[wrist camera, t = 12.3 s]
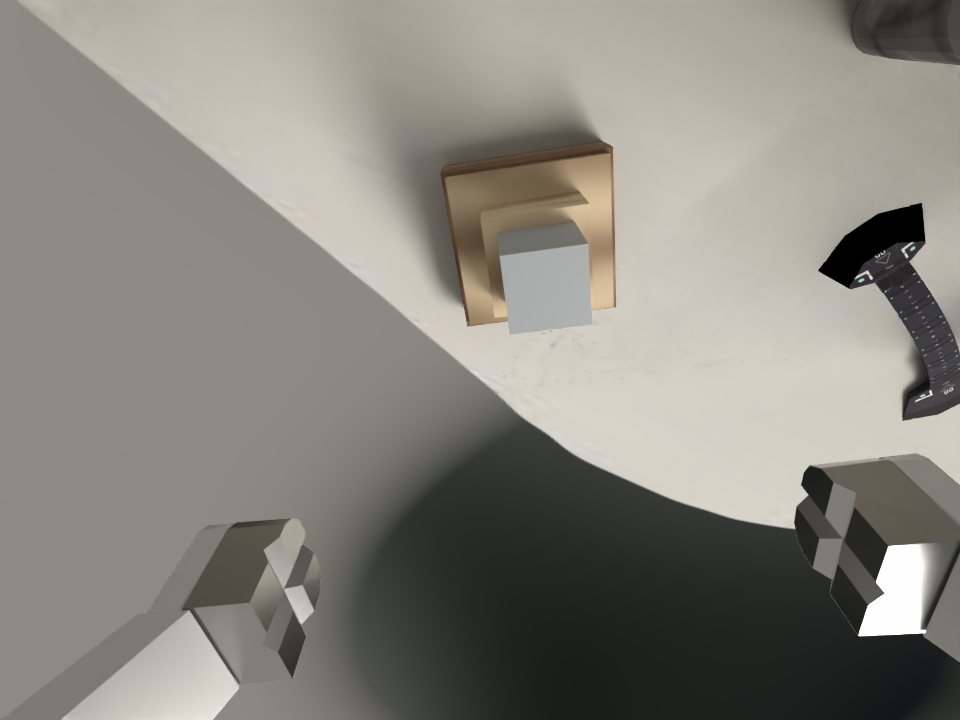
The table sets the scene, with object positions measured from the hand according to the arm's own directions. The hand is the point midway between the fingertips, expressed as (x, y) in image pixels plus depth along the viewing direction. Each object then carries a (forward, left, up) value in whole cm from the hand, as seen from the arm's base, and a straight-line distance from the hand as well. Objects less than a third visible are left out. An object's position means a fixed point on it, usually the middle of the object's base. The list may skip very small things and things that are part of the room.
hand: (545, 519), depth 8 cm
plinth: (+5, +2, -35) cm, 35 cm away
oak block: (+5, +2, -31) cm, 32 cm away
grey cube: (+5, +2, -27) cm, 28 cm away
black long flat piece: (+18, +34, -36) cm, 53 cm away
